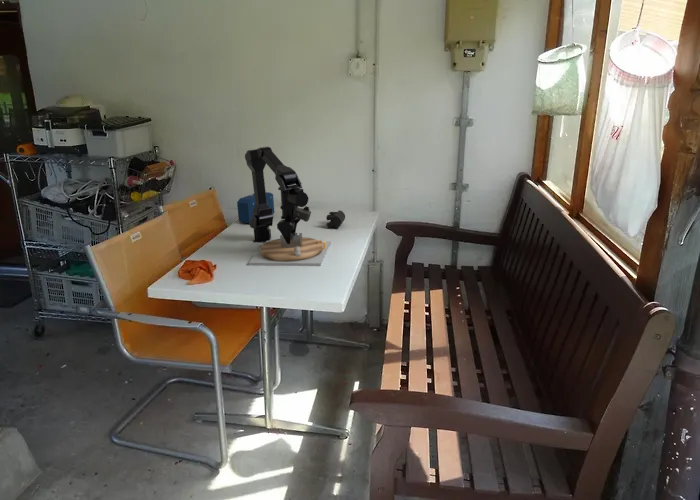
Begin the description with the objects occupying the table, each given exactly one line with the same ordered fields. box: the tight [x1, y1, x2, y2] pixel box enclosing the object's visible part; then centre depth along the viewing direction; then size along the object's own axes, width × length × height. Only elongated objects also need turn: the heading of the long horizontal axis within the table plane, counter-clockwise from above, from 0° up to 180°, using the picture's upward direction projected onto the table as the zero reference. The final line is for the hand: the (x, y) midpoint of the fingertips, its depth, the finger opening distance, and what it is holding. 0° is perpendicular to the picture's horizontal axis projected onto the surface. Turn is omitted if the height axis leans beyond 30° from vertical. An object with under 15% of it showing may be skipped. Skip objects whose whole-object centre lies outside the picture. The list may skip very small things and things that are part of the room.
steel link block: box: [279, 232, 303, 248], centre depth 219 cm, size 8×4×5 cm, turn 84°
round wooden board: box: [259, 236, 323, 261], centre depth 220 cm, size 25×25×5 cm
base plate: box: [248, 240, 332, 267], centre depth 220 cm, size 28×28×4 cm
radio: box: [236, 191, 275, 225], centre depth 271 cm, size 21×9×20 cm, turn 152°
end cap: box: [325, 209, 346, 230], centre depth 256 cm, size 10×7×7 cm
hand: (291, 240), depth 219 cm, fingers open, 9 cm apart
